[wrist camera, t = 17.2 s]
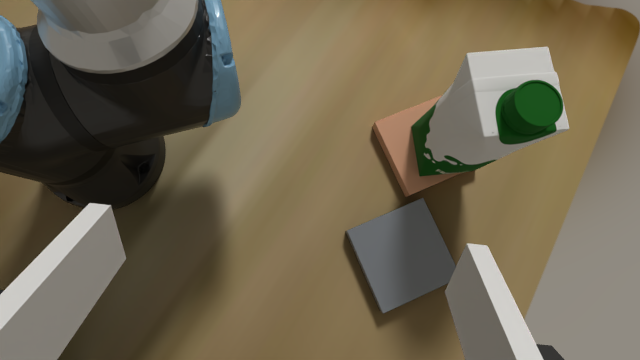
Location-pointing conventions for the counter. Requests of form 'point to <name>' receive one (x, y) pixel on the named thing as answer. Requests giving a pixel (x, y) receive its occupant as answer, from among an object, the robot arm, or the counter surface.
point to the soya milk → (490, 111)
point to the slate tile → (402, 255)
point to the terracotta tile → (406, 148)
